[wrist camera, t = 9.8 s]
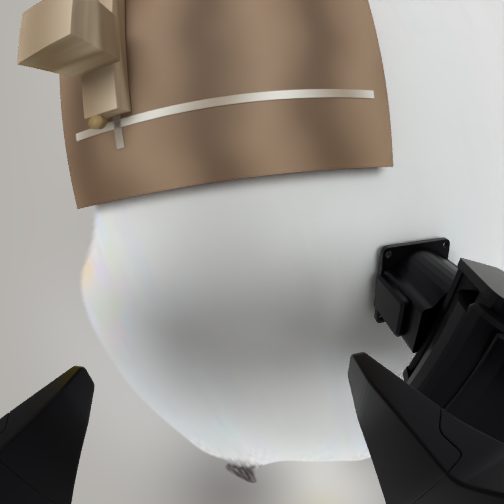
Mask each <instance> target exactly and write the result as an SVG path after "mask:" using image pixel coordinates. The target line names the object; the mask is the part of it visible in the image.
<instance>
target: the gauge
mask: <svg viewBox="0 0 504 504" xmlns="http://www.w3.org/2000/svg"><path fill="white" fill-rule="evenodd" d="M17 64H18V65H23V66H28V67H33V68H37V69H41V70H46V71H50V72H54V73H58V74H62V75H65V76H69V77H73V78H77V77H79V76H81V82H82V97H83V108H84V118H85V119H89V122H88V125H89V127H90V128H91V129H103V128H105V126H106V125H107V118H110V117H113V116H116V115H120V114H123V113H126V112H130V111H131V105H130V96H129V86H128V74H127V61H126V42H125V0H42V1H41V2H39V3H37V4H36V5H34V6H33V7H31V8H30V9H28V10H27V11H25V12H24V13H23V15H22V22H21V28H20V37H19V47H18V61H17Z"/></svg>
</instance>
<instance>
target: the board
mask: <svg viewBox="0 0 504 504" xmlns="http://www.w3.org/2000/svg"><path fill="white" fill-rule="evenodd" d="M125 42H126V61H127V74H128V86H129V96H130V105H131V111H130V112H126V113H123V114H120V115H116V116H113V117H110V118H107V125H106V126H105V128H103V129H91V128H90V127H89V125H88V122H89V119H85V118H84V108H83V97H82V82H81V76H79V77H77V78H73V77H69V76H65V75H62V74H60V94H61V110H62V120H63V130H64V138H65V145H66V152H67V158H68V165H69V170H70V176H71V181H72V186H73V190H74V195H75V199H76V204H77V208H78V209H80V208H84V207H88V206H93V205H97V204H101V203H105V202H110V201H114V200H119V199H123V198H128V197H133V196H138V195H143V194H148V193H153V192H158V191H164V190H169V189H175V188H181V187H186V186H193V185H199V184H205V183H212V182H218V181H225V180H233V179H240V178H248V177H256V176H265V175H274V174H283V173H294V172H305V171H317V170H330V169H346V168H366V167H393V154H392V137H391V125H390V114H389V105H388V97H387V89H386V82H385V76H384V70H383V64H382V58H381V53H380V48H379V43H378V39H377V34H376V30H375V26H374V21H373V18H372V14H371V10H370V6H369V3H368V0H125Z"/></svg>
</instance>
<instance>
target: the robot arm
mask: <svg viewBox="0 0 504 504" xmlns="http://www.w3.org/2000/svg"><path fill="white" fill-rule="evenodd" d="M444 243H445V244H444ZM443 244H444V246H443ZM449 246H450V242H449V240H448V239H446V238H437V239H430V240H423V241H416V242H409V243H402V244H395V245H388V246H384V247H383V248H382V250H381V252H380V265H379V275H378V276H377V279H376V290H375V300H374V306H375V316H374V317H375V319H376V321H377V322H378V323H382V322H386V323H387V324H388V326H389V327H390V329H391V330H392V332H393V333H394V334H395V335H396V336H397V337H399V336H402V338H403V339H404V341H405V342H406V343H407V345H408V346H409V348H410V349H411V351H412V352H413V353H416V352H417V353H416V355H415V356H414V358H413V360H412V361H411V363H410V365H409V366H407V367H406V369H405V370H404V372H403V377H404V381H403V380H402V379H401V378H399V377H398V376H396V375H395V374H394V373H392V372H391V371H389V370H388V369H387V368H385V367H384V366H383V365H381V364H380V363H378V362H377V361H376V360H374V359H373V358H372V357H370V356H369V355H367V354H366V353H364V352H361V353H356V354H352V355H351V358H350V364H349V370H348V379H349V383H350V387H351V391H352V396H353V400H354V405H355V409H356V414H357V418H358V421H359V424H360V427H361V429H362V432H363V435H364V438H365V441H366V444H367V447H368V450H369V452H370V455H371V458H372V461H373V464H374V467H375V470H376V473H377V476H378V479H379V483H380V486H381V489H382V492H383V495H384V498H385V501H386V504H504V272H503V271H502V270H500V269H498V268H496V267H492V266H489V265H485V264H482V263H478V262H475V261H471V260H467V259H464V258H460V261H459V263H458V266H456V265H455V264H454V263H452V262H451V261H450V260H448V254H449ZM387 251H389V254H388V255H386V253H387ZM380 316H381V317H380ZM379 317H380V318H379ZM93 393H94V383H93V381H92V379H91V377H90V376H89V374H88V372H87V370H86V369H85V368H84V367H81V366H74V367H72V368H70V369H69V370H68V371H66V372H65V373H63V374H62V375H61V376H59V377H58V378H56V379H55V380H54V381H52V382H51V383H50V384H48V385H47V386H45V387H44V388H42V389H41V390H40V391H38V392H37V393H35V394H34V395H33V396H31V397H30V398H28V399H27V400H26V401H24V402H23V403H22V404H20V405H19V406H17V407H16V408H15V409H13V410H12V411H10V413H8V414H6V415H5V416H4V417H2V418H1V419H0V504H71V501H72V495H73V489H74V484H75V479H76V474H77V468H78V464H79V459H80V455H81V450H82V446H83V442H84V438H85V434H86V430H87V426H88V421H89V416H90V410H91V404H92V398H93Z"/></svg>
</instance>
